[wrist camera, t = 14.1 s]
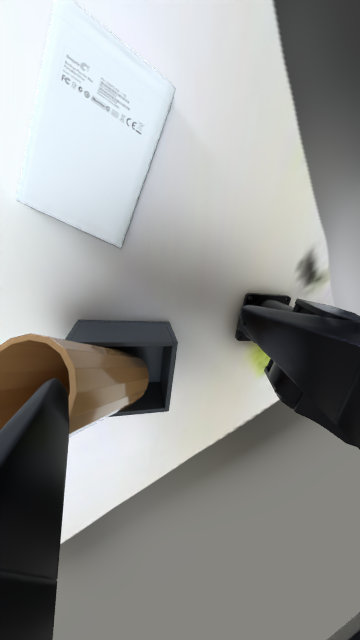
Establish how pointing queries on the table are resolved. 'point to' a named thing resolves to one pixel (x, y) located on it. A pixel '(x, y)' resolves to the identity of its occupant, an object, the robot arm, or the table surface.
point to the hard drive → (91, 126)
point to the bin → (147, 343)
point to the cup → (70, 377)
